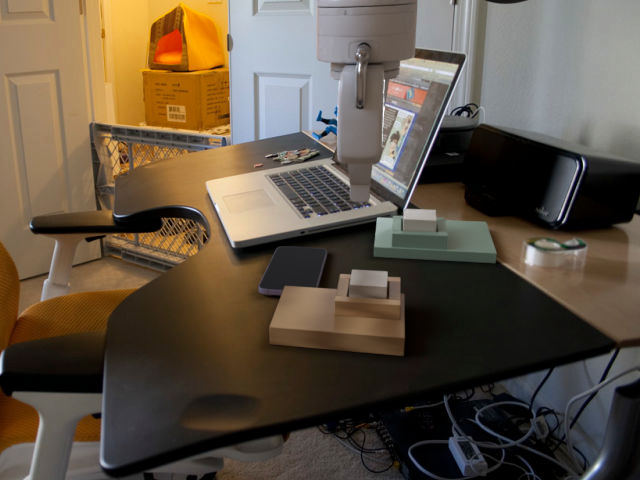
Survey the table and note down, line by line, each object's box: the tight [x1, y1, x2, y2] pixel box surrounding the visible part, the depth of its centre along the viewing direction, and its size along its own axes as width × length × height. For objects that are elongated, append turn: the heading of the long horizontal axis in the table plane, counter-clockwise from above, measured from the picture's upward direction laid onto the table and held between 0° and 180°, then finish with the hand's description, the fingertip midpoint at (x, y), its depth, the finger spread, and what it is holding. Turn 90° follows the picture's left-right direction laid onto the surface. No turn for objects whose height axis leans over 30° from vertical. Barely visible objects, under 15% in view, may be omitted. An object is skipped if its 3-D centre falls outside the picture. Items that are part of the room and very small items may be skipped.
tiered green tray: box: [373, 215, 498, 264], centre depth 91 cm, size 16×12×4 cm
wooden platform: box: [268, 273, 406, 357], centre depth 71 cm, size 14×10×4 cm
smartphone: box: [258, 245, 328, 297], centre depth 84 cm, size 7×1×15 cm
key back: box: [402, 208, 438, 232], centre depth 89 cm, size 4×4×2 cm
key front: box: [349, 269, 389, 299], centre depth 71 cm, size 4×4×2 cm
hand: (361, 184), depth 63 cm, fingers open, 8 cm apart
